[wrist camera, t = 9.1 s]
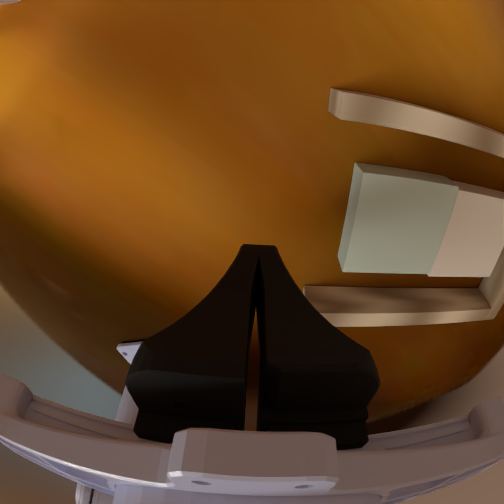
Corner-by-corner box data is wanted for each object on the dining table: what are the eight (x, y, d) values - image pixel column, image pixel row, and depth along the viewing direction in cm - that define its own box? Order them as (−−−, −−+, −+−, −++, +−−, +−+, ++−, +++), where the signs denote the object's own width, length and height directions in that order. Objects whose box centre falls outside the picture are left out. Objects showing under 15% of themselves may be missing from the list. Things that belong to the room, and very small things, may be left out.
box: (301, 298, 20) (304, 326, 18) (330, 87, 13) (342, 91, 11) (481, 298, 20) (493, 319, 18) (539, 150, 12) (561, 163, 10)
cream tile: (417, 258, 19) (428, 276, 17) (442, 176, 15) (458, 190, 14) (477, 260, 18) (489, 277, 17) (503, 190, 15) (520, 203, 13)
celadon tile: (336, 252, 19) (342, 271, 17) (352, 160, 15) (363, 172, 14) (417, 255, 19) (428, 273, 17) (442, 173, 15) (458, 186, 13)
